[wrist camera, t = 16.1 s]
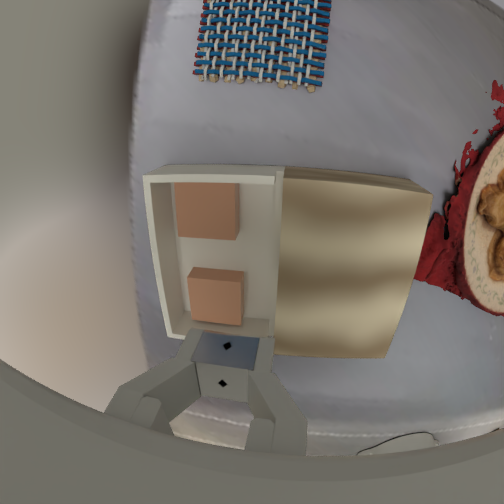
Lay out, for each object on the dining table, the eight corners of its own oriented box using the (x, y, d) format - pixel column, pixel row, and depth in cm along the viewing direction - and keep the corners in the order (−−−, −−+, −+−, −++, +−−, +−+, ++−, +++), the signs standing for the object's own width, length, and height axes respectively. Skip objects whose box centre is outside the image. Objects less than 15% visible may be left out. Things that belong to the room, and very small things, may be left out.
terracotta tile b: (178, 236, 24) (185, 228, 26) (235, 240, 24) (239, 231, 26) (173, 179, 22) (182, 174, 24) (234, 180, 22) (239, 175, 23)
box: (276, 320, 30) (272, 350, 26) (181, 310, 31) (167, 336, 27) (285, 166, 23) (283, 176, 19) (166, 164, 24) (142, 175, 20)
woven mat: (209, -17, 17) (203, -25, 15) (332, -8, 16) (334, -17, 14) (194, 83, 21) (186, 80, 20) (320, 95, 21) (322, 93, 19)
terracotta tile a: (192, 319, 28) (197, 307, 30) (240, 325, 28) (244, 313, 30) (186, 277, 26) (193, 266, 28) (240, 282, 26) (244, 271, 27)
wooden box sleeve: (375, 325, 29) (384, 358, 25) (276, 320, 30) (272, 354, 26) (409, 179, 22) (433, 194, 17) (285, 166, 23) (282, 178, 19)
